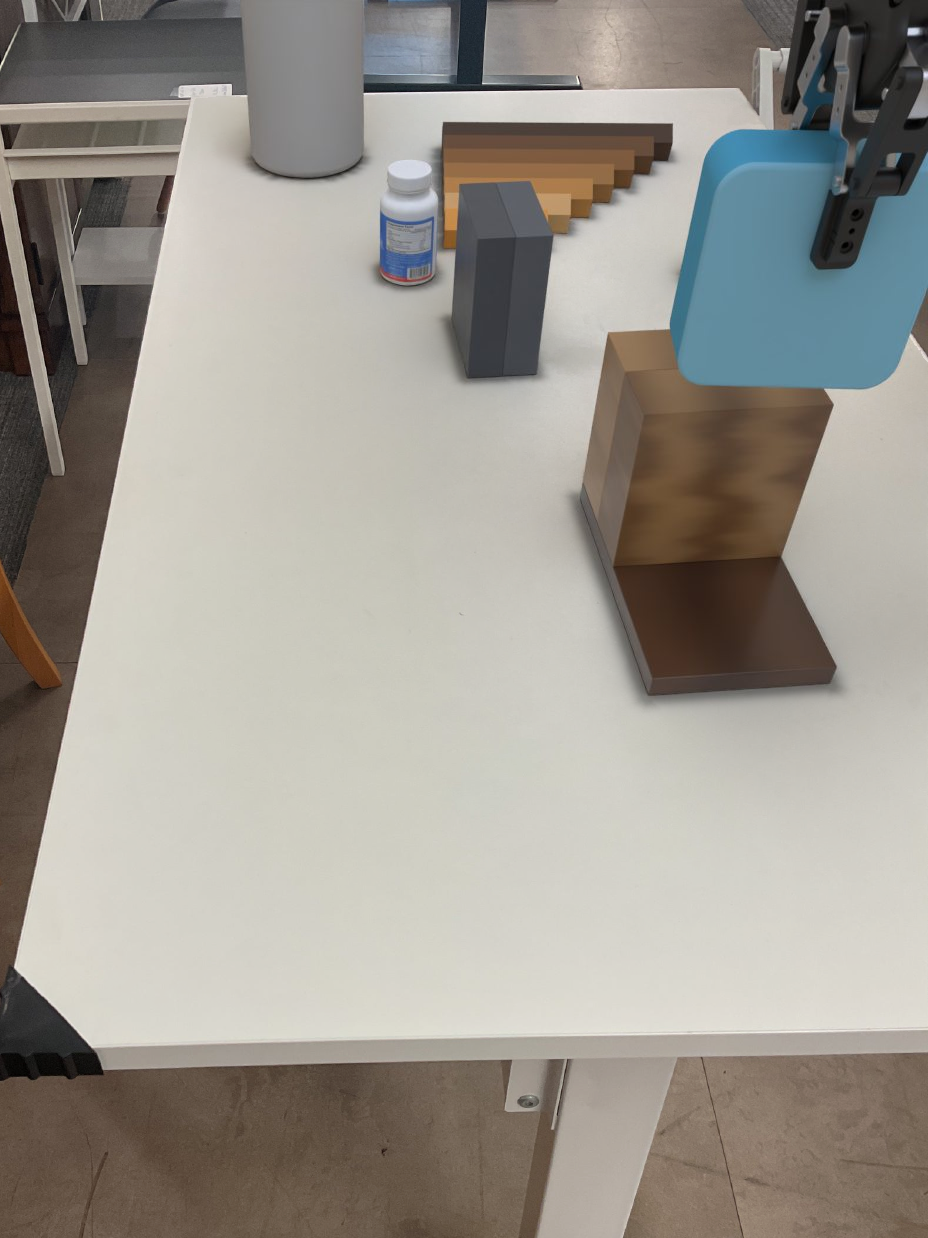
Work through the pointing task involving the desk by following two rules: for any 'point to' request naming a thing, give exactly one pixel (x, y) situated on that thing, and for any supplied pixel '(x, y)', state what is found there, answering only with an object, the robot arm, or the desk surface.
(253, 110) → the cylinder vase
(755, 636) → the brown wooden bookend
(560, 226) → the pan flute
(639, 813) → the desk surface
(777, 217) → the blue rounded slab
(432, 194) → the pill bottle
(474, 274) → the grey books
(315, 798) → the desk surface
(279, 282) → the desk surface
